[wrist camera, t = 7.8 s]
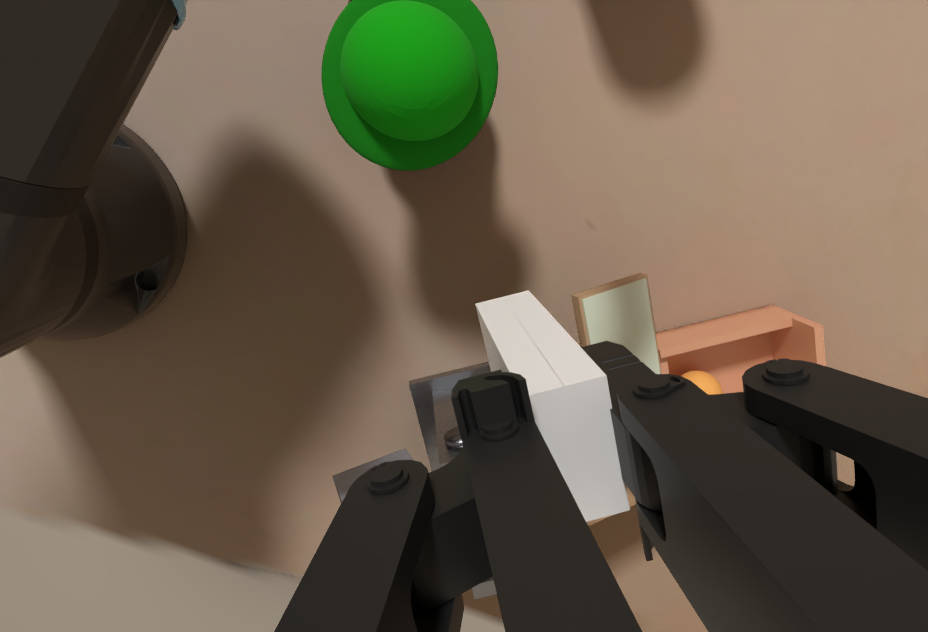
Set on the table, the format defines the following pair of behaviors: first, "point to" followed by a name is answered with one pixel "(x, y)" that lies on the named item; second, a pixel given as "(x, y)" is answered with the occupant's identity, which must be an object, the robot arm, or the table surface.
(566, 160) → the table surface
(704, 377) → the ball
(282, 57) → the table surface
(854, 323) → the table surface
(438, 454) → the bracket
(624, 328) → the lever
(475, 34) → the toy
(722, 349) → the pink open box
